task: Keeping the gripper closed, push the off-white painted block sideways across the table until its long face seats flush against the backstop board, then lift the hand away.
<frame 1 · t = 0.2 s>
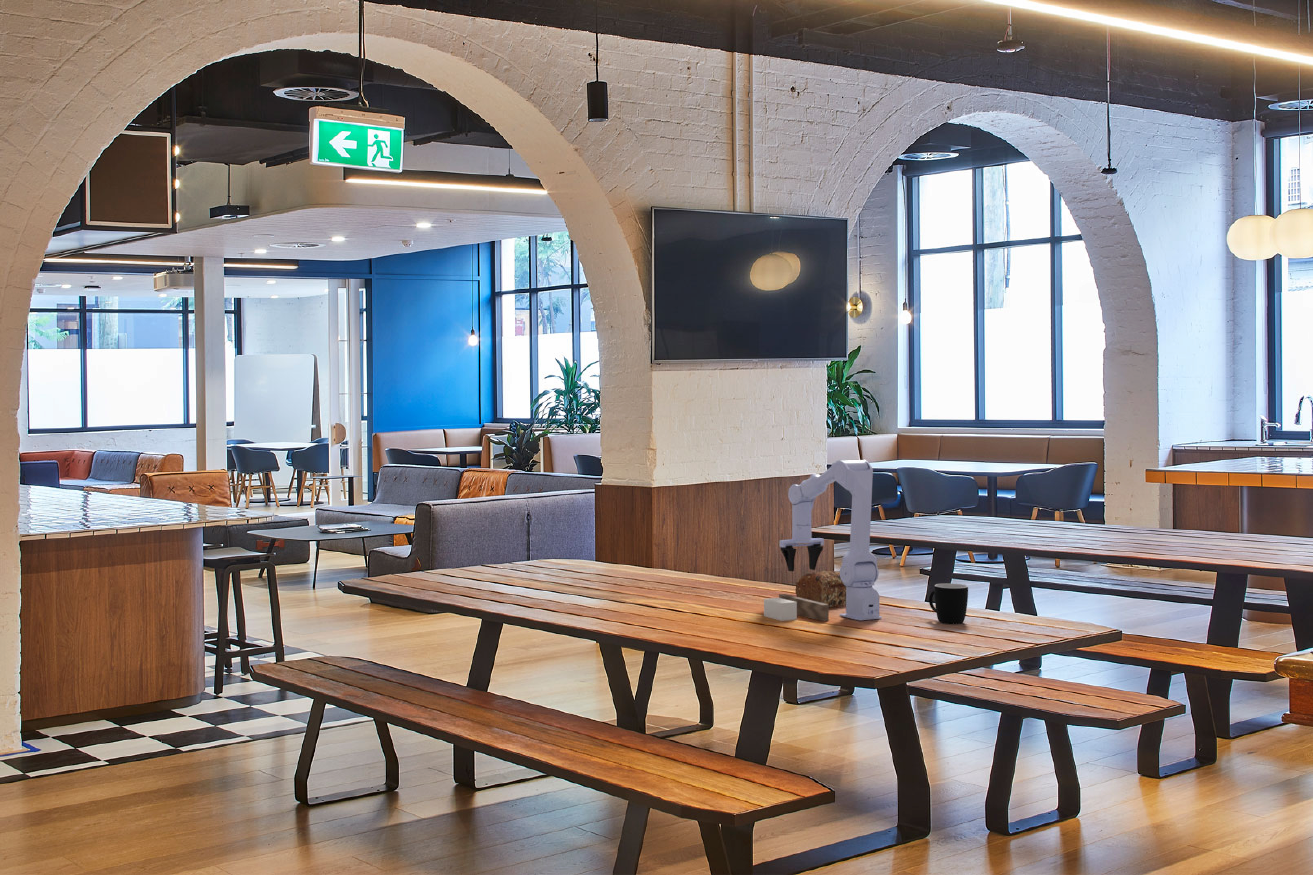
hand: (801, 570, 382), 10 cm above the table, fingers open, 7 cm apart
mug: (946, 622, 351), on the table
board: (803, 615, 362), on the table
block: (780, 618, 358), on the table
bread: (827, 605, 382), on the table
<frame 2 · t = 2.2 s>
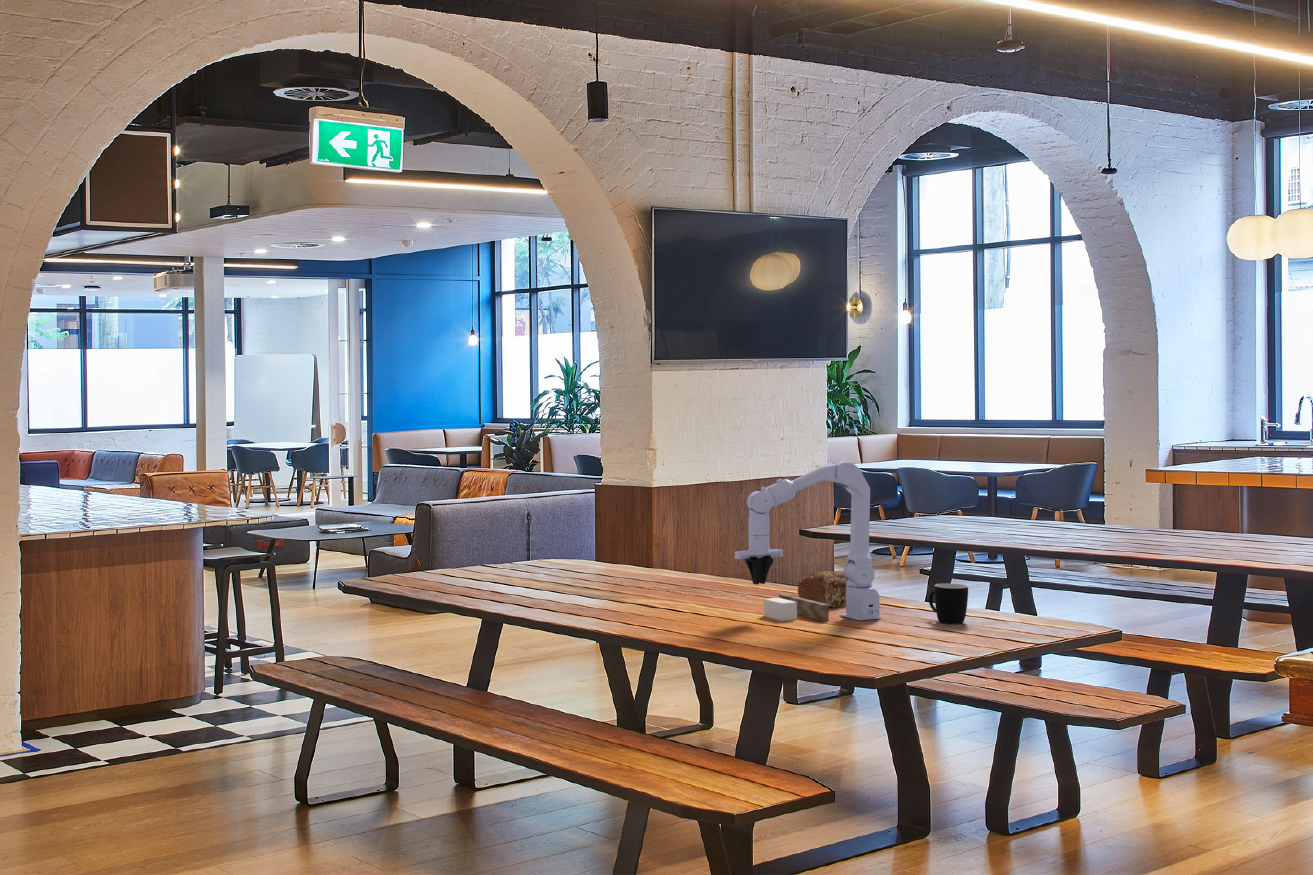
hand: (758, 583, 354), 10 cm above the table, fingers closed
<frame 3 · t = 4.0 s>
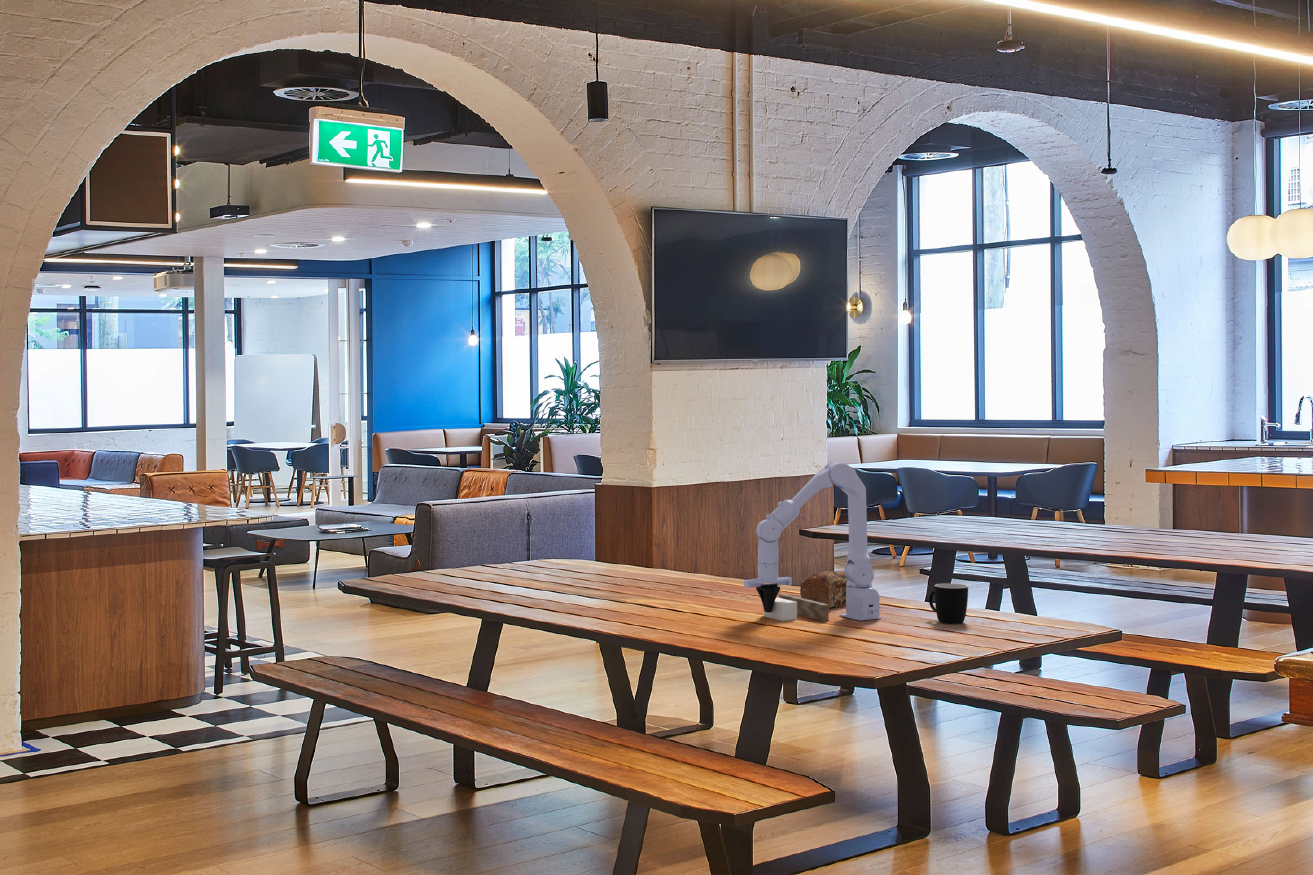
hand: (768, 611, 356), 2 cm above the table, fingers closed
block: (780, 618, 358), on the table, touching gripper
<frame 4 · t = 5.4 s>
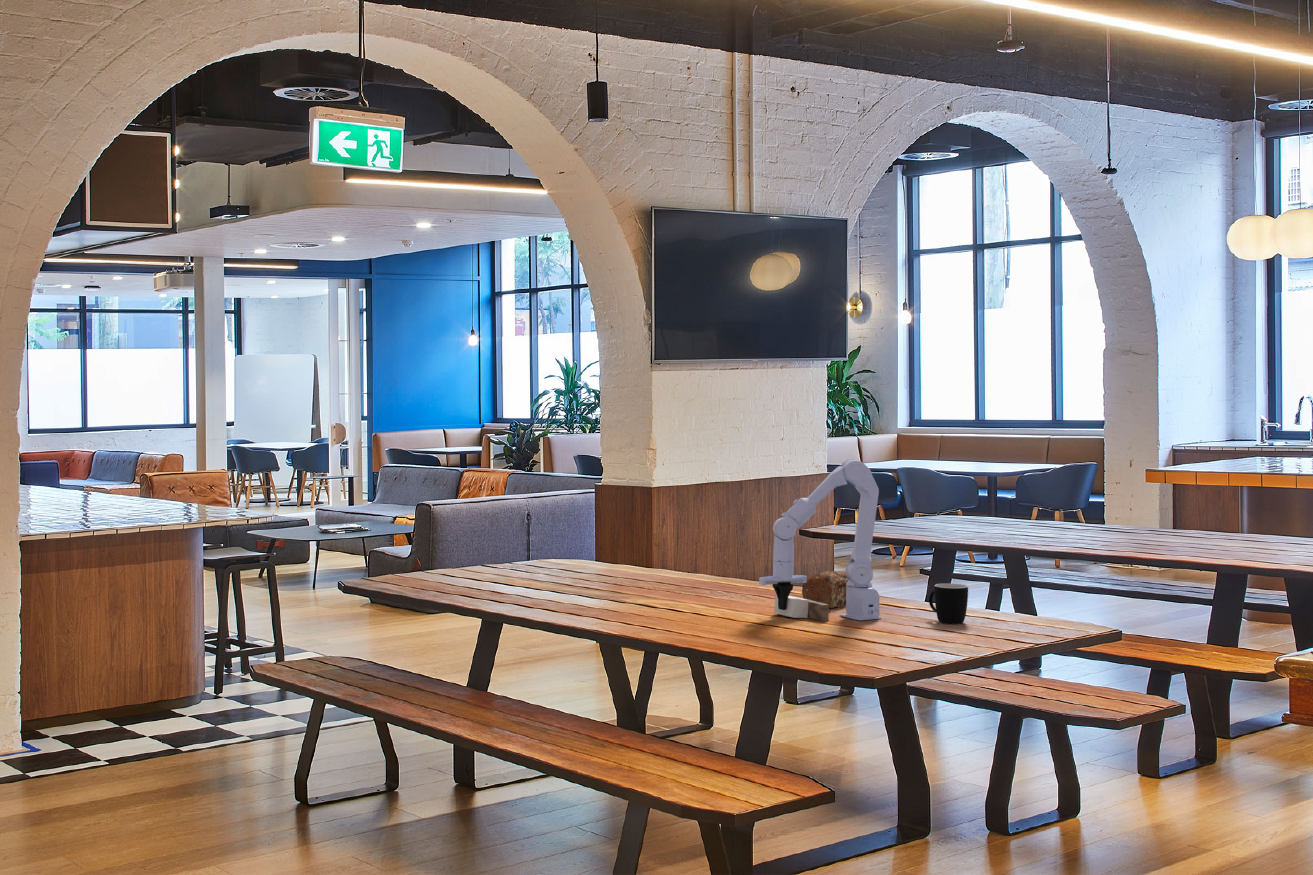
hand: (782, 609, 358), 2 cm above the table, fingers closed, pressing on block
block: (790, 615, 360), on the table, tilted 6°, touching board, gripper
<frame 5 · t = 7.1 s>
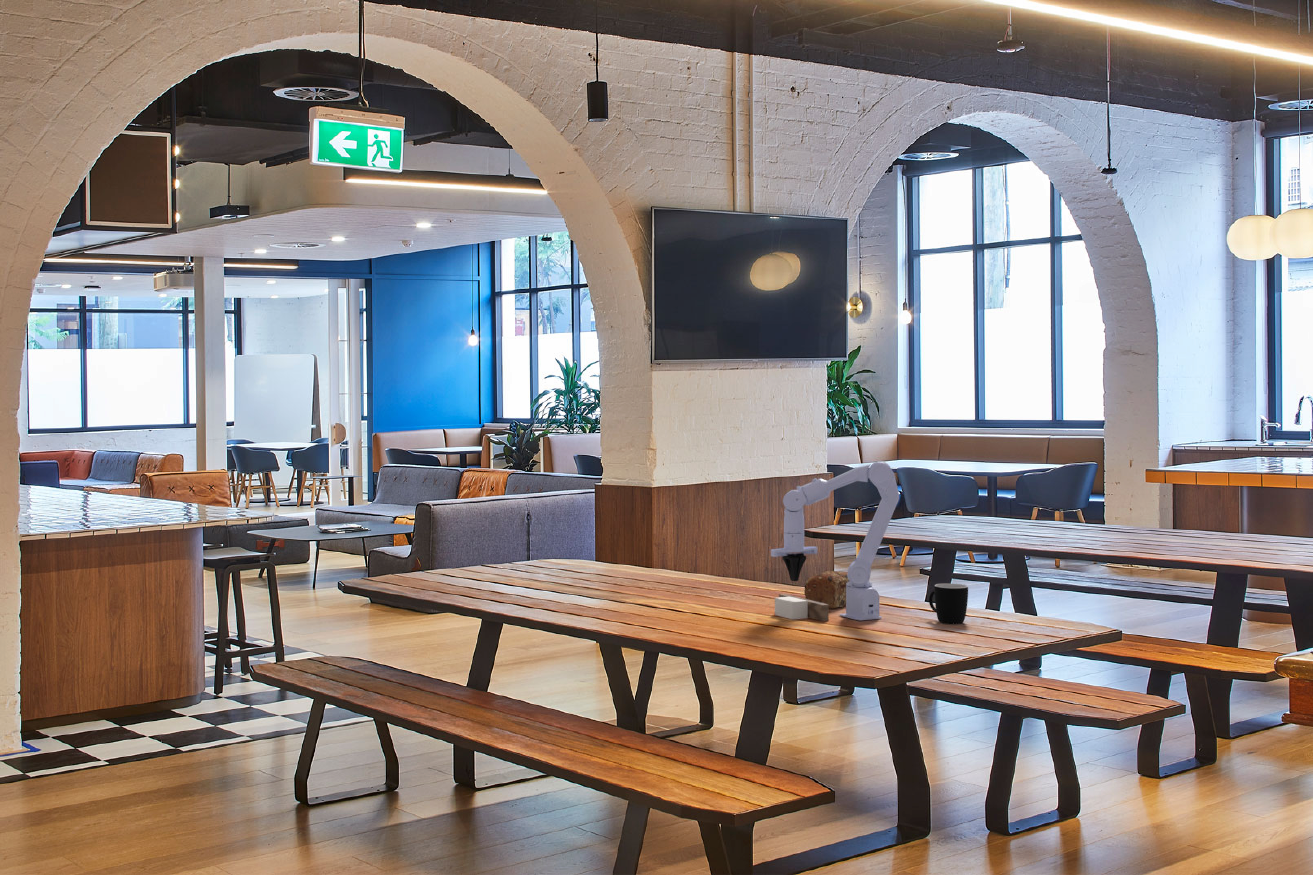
hand: (794, 580, 361), 10 cm above the table, fingers closed
block: (791, 616, 360), on the table
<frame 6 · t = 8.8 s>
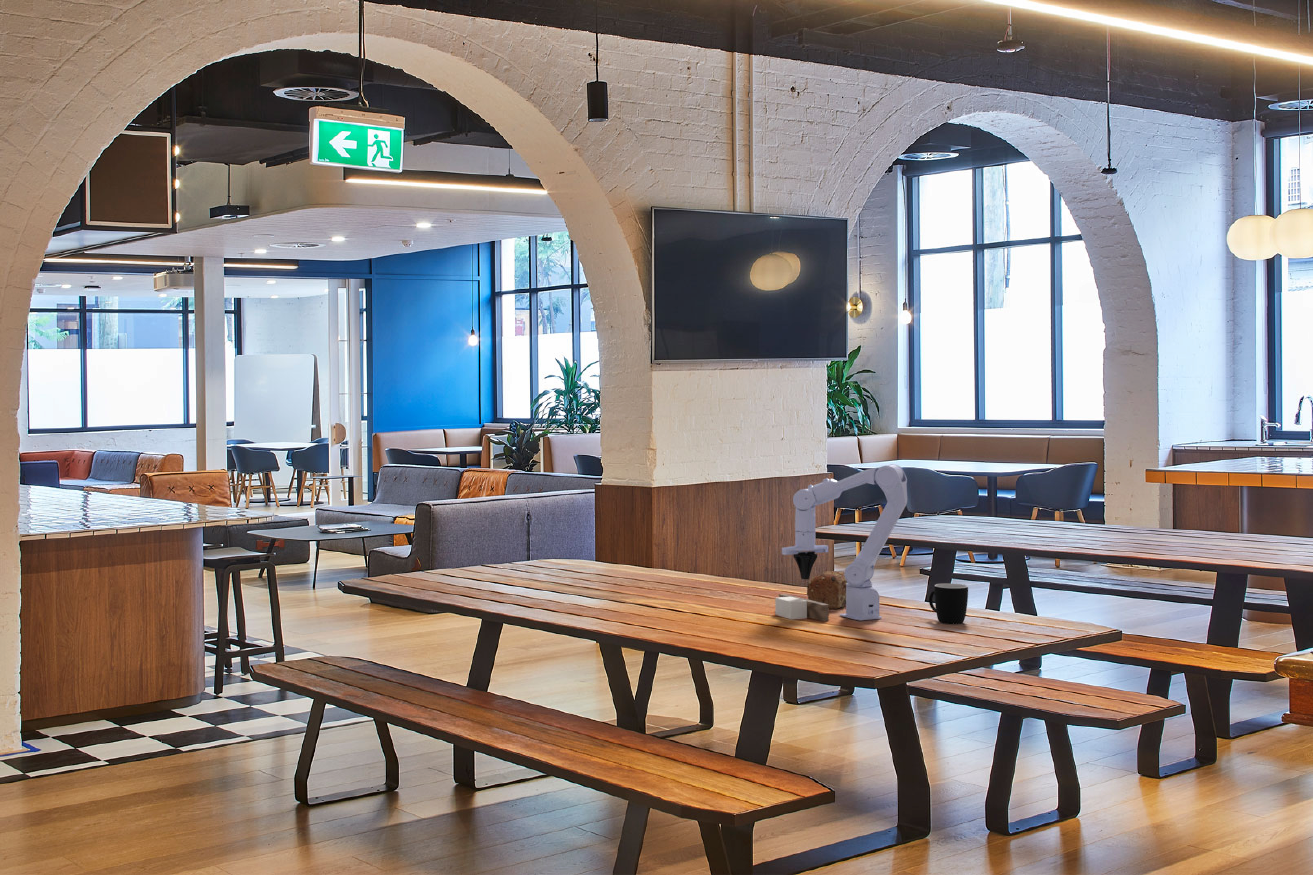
hand: (805, 578, 364), 10 cm above the table, fingers closed
at the end: block inside the target area on the table beside the board (0.0 cm from its centre), on the table; block tilted 0°; block moved 4.0 cm from its start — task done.
